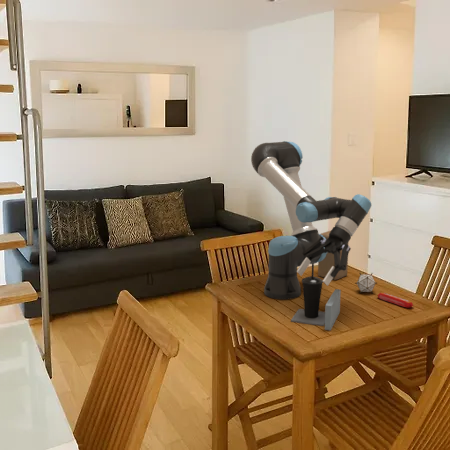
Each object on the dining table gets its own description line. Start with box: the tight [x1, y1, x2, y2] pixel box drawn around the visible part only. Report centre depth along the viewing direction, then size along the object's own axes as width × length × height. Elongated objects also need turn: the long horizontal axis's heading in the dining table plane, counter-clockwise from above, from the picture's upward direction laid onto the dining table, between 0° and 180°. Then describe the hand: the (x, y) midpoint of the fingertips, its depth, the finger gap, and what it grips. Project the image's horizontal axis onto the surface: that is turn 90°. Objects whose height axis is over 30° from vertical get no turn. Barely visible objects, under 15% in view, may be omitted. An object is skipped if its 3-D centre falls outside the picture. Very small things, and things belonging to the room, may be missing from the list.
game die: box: [354, 272, 378, 294], centre depth 231 cm, size 9×8×10 cm
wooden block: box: [317, 230, 349, 281], centre depth 251 cm, size 10×10×20 cm
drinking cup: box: [301, 263, 324, 318], centre depth 204 cm, size 8×8×20 cm
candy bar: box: [376, 292, 415, 309], centre depth 219 cm, size 16×4×3 cm, turn 36°
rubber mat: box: [290, 308, 325, 327], centre depth 206 cm, size 12×12×1 cm
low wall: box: [324, 288, 342, 331], centre depth 202 cm, size 2×18×9 cm, turn 158°
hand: (311, 278), depth 201 cm, fingers open, 13 cm apart
